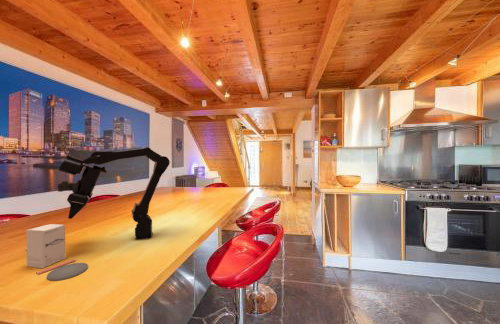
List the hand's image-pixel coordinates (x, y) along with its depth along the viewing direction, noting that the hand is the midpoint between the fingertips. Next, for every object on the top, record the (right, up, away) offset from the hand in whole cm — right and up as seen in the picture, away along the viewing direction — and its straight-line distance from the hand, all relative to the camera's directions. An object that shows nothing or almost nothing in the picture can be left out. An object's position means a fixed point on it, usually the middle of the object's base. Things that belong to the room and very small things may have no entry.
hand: (71, 216), depth 86 cm
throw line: (+7, -14, -14) cm, 21 cm away
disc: (+14, -14, -18) cm, 26 cm away
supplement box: (0, -14, -11) cm, 18 cm away
